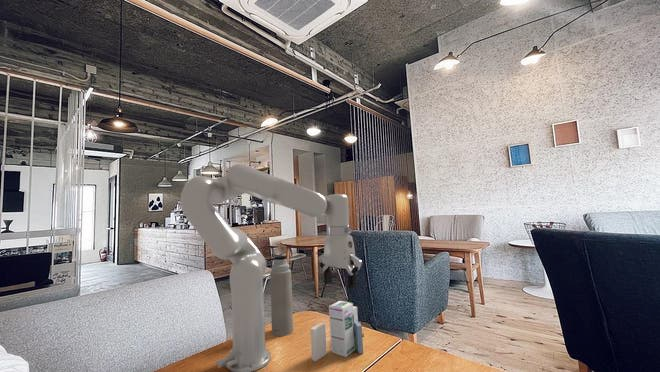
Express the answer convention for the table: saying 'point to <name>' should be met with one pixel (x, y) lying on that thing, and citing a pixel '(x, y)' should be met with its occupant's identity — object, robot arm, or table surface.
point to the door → (358, 336)
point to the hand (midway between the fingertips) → (339, 285)
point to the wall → (321, 339)
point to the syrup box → (342, 328)
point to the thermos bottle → (281, 297)
